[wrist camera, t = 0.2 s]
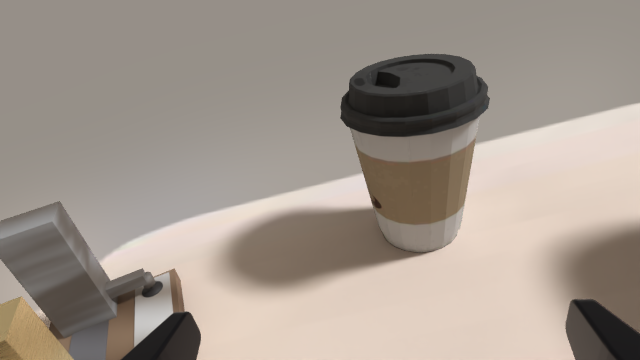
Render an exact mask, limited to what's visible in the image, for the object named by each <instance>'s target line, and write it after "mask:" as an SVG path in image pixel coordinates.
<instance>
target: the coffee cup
mask: <svg viewBox="0 0 640 360" xmlns="http://www.w3.org/2000/svg"><path fill="white" fill-rule="evenodd" d="M487 91H488V86H487V84H486V83H485V82H484V81H483V79H482V78H480V77H478V76H476V69H475V66H474V65H473V64H472V63H471V62H470V61H469V60H466V59H464V58H462V57H458V56H452V55H446V54H423V55H411V56H404V57H398V58H394V59H389V60H385V61H381V62H378V63H375V64H373V65H370V66H367V67H365V68H363V69H362V70H360V71H358V72H357V73H356V74H355V75H354V76H353V77H352V78H351V79H350V83H349V91H348V92H347V93H346V94H345V95H344V96H343V97H342V102H341V119H342V121H343V122H344V123H345V125H346V126H347V127H350V130H351V133H352V137H353V140H354V143H355V147H356V150H357V154H358V157H359V160H360V164H361V167H362V171H363V174H364V177H365V181H366V184H367V188H368V191H369V194H370V198H371V201H372V204H373V208H374V211H375V215H376V218H377V221H378V225H379V227H380V229H381V231H382V232H383V234H384V236H385V238H386V240H387V241H388V242H390V243H391V244H392V245H393V246H395V247H397V248H400V249H403V250H405V251H412V252H430V251H434V250H437V249H440V248H443V247H445V246H446V245H448V244H449V243H451V242H452V241H453V239H454V238H455V237H456V236H457V232H458V230H459V229H460V226H461V221H462V215H463V209H464V204H465V198H466V192H467V186H468V180H469V175H470V169H471V163H472V157H473V151H474V146H475V140H476V134H477V128H478V122H479V116H480V115H481V114H482V113H483V112H484V111H485V110H486V109H487V108H488V105H489V99H490V98H489V97H488V96H487Z"/></svg>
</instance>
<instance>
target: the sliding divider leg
mask: <svg viewBox="0 0 640 360" xmlns="http://www.w3.org/2000/svg"><path fill="white" fill-rule="evenodd" d="M0 360H74V359H73V358H72V357H71V355H70V354H69V353H68V352H67V351H66V349H65V348H64V347H63V346H62V345H61V343H60V342H59V341H58V340H57V339H56V337H55V336H54V335H53V334H52V332H51V331H50V330H49V329H48V328H47V326H46V325H45V324H44V323H43V322H42V320H41V319H40V318H39V317H38V316H37V314H36V313H35V312H34V311H33V310H32V308H31V307H30V306H29V305H28V303H27V302H26V301H25V300H24V299H23V298H22V297H19V298H16V299H13V300H11V301H8V302H5V303H3V304H0Z"/></svg>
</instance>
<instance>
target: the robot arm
mask: <svg viewBox="0 0 640 360" xmlns="http://www.w3.org/2000/svg"><path fill="white" fill-rule="evenodd" d="M566 333H567V337H568V340H569V343H570V345H571V348H572V351H573V354H574V357H575V360H640V333H638V332H637V331H636V330H634V329H633V328H632V327H630V326H629V325H628V324H626V323H625V322H624V321H622V320H621V319H620V318H618V317H617V316H616V315H614V314H613V313H612V312H610V311H609V310H608V309H606V308H605V307H604V306H602V305H601V304H600V303H598V302H597V301H595V300H593V299H574V300H572V301H571V302H570V305H569V310H568V315H567V320H566ZM200 341H201V334H200V330H199V328H198V326H197V324H196V322H195V320H194V318H193V316H192V314H191V313H189V312H175V313H173V314H171V315H170V316H169V317H168V318H167V319H165V320H164V321H163V322H162V323H161V324H160V325H159V326H158V327H156V328H155V329H154V330H153V331H152V332H151V333H150V334H149V335H148V336H146V337H145V338H144V339H143V340H142V341H141V342H140V343H139V344H137V345H136V346H135V347H134V348H133V349H132V350H131V351H130V352H128V353H127V354H126V355H125V356H124V357H123V358H122V359H121V360H196V359H197V355H198V350H199V346H200Z"/></svg>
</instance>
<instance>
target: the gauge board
mask: <svg viewBox="0 0 640 360" xmlns="http://www.w3.org/2000/svg"><path fill="white" fill-rule="evenodd" d="M0 259H1V260H2V261H3V263H4V264H5V265H6V266H7V268H8V269H9V270H10V271H11V273H12V274H13V275H14V276H15V278H16V279H17V280H18V281H19V283H20V284H21V285H22V286H23V287H24V288H25V290H26V291H27V292H28V294H29V295H30V296H31V297H32V299H33V300H34V301H35V302H36V304H37V305H38V306H39V307H40V308H41V310H42V311H43V312H44V313H45V315H46V316H47V317H48V318H49V320H50V321H51V324H50V328H49V330H50V331H51V332H52V334H53V335H54V336H55V337H56V339H57V340H58V341H59V342H60V343H61V345H62V346H63V347H64V348H65V349H66V351H67V352H68V353H69V354H70V355H71V357H72V358H73V359H74V360H121V359H122V358H123V357H124V356H125V355H126V354H127V353H128V352H130V351H131V350H132V349H133V348H134V347H135V346H136V345H137V344H139V343H140V342H141V341H142V340H143V339H144V338H145V337H146V336H148V335H149V334H150V333H151V332H152V331H153V330H154V329H155V328H156V327H158V326H159V325H160V324H161V323H162V322H163V321H164V320H165V319H167V318H168V317H169V316H170V315H171V314H173V313H175V312H185V311H184V304H183V296H182V289H181V281H180V278H179V276H178V274H177V272H176V271H175V269H172V270H170V271H167V272H165V273H162V274H160V275H157V276H155V277H153V276H152V274H151V273H150V272H144V270H143V268H142V269H140V270H137V271H135V272H132V273H130V274H127V275H125V276H122V277H119V278H117V279H114V280H112V281H110V279H109V278H108V276H107V274H106V273H105V271H104V270H103V268H102V267H101V265H100V263H99V262H98V260H97V259H96V257H95V256H94V254H93V253H92V251H91V249H90V248H89V246H88V245H87V243H86V242H85V240H84V238H83V237H82V235H81V234H80V232H79V231H78V229H77V227H76V226H75V224H74V223H73V221H72V220H71V218H70V217H69V215H68V214H67V212H66V210H65V209H64V207H63V206H62V204H61V202H60V201H59V202H56V203H53V204H50V205H47V206H44V207H41V208H38V209H35V210H32V211H29V212H26V213H23V214H20V215H17V216H14V217H11V218H8V219H5V220H2V221H1V222H0Z"/></svg>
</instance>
